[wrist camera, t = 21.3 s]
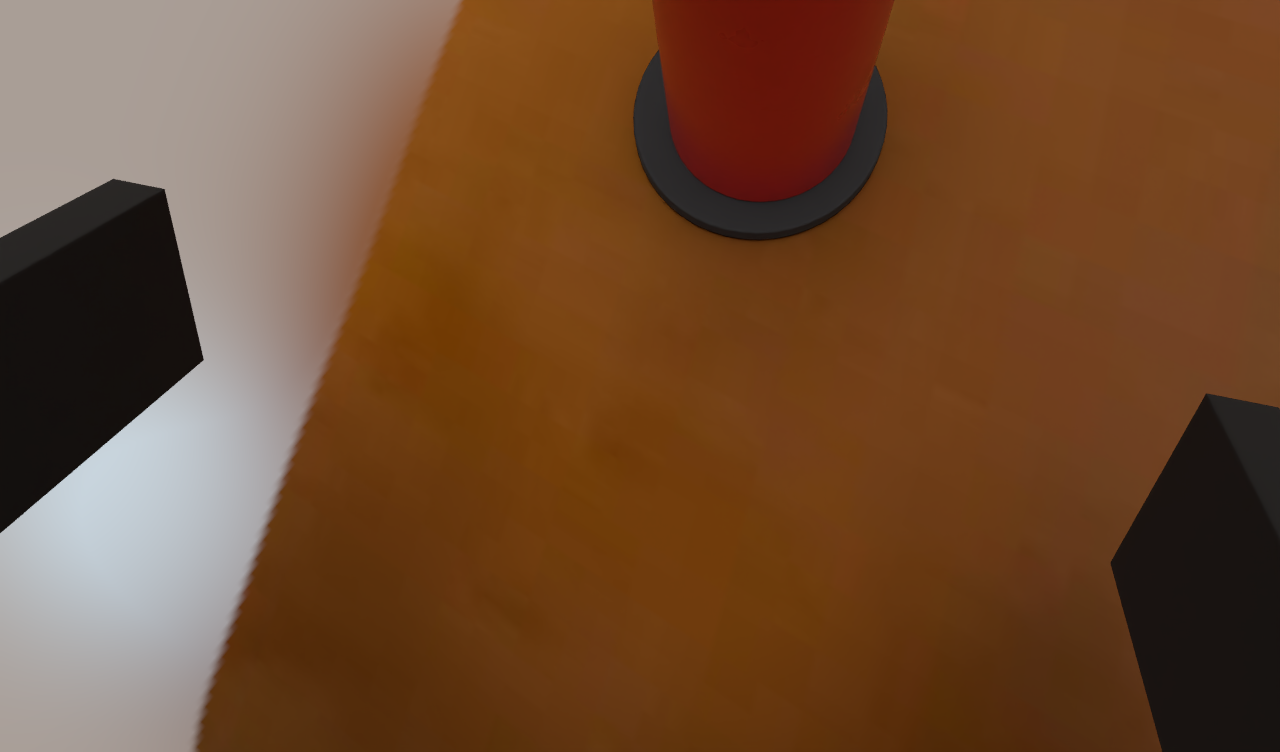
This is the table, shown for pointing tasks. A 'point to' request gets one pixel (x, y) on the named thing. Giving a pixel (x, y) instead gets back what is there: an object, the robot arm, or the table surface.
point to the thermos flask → (766, 88)
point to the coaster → (740, 214)
